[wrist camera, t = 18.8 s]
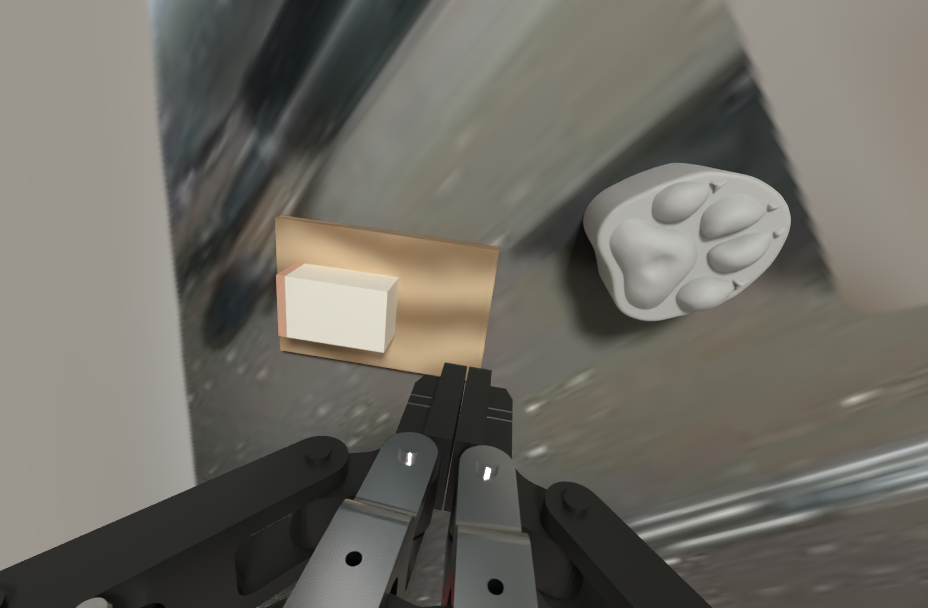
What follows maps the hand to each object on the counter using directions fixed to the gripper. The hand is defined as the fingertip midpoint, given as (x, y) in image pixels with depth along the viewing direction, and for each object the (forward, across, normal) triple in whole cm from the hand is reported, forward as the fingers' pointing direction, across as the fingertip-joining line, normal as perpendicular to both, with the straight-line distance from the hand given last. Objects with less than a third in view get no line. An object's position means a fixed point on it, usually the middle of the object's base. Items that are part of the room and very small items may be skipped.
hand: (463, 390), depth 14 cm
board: (+28, +10, +10) cm, 32 cm away
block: (+25, +8, +10) cm, 28 cm away
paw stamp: (+29, -15, -1) cm, 32 cm away
